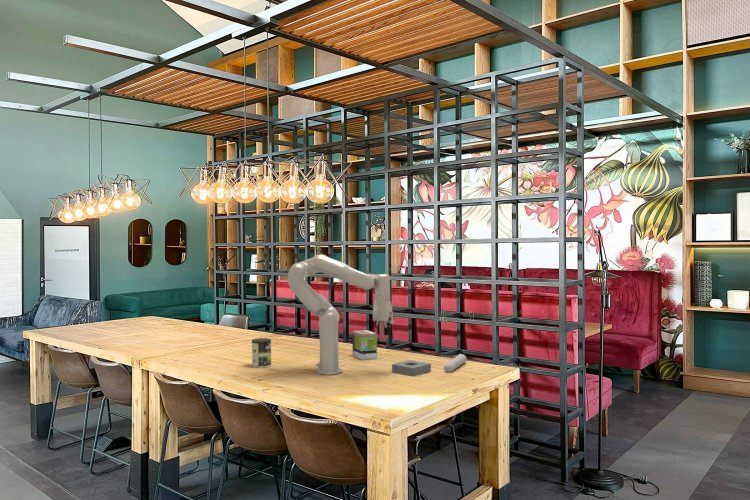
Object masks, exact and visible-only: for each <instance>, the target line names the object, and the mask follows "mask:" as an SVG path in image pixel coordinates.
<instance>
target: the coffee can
mask: <svg viewBox="0 0 750 500" xmlns="http://www.w3.org/2000/svg"><path fill="white" fill-rule="evenodd" d="M251 349H252V350H251V359H252V360H251V361H252V363H251V364H252V365H251V367H253V368H258V369H260V368H261V369H262V368H264V369H265V368H268V367H271V366H272V339H271V338H268V337H267V338H254V339H252V340H251Z"/></svg>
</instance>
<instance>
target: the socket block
mask: <svg viewBox="0 0 750 500" xmlns="http://www.w3.org/2000/svg"><path fill="white" fill-rule="evenodd" d="M391 372H392V373H395V374H399V375H405V376H409V377H410V376H411V377H415V376H419V375H424V374H426V373H430V372H432V363H430V362H423V361H419V360H411V359H408V360H404V361H400V362H395V363H392V364H391Z"/></svg>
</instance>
